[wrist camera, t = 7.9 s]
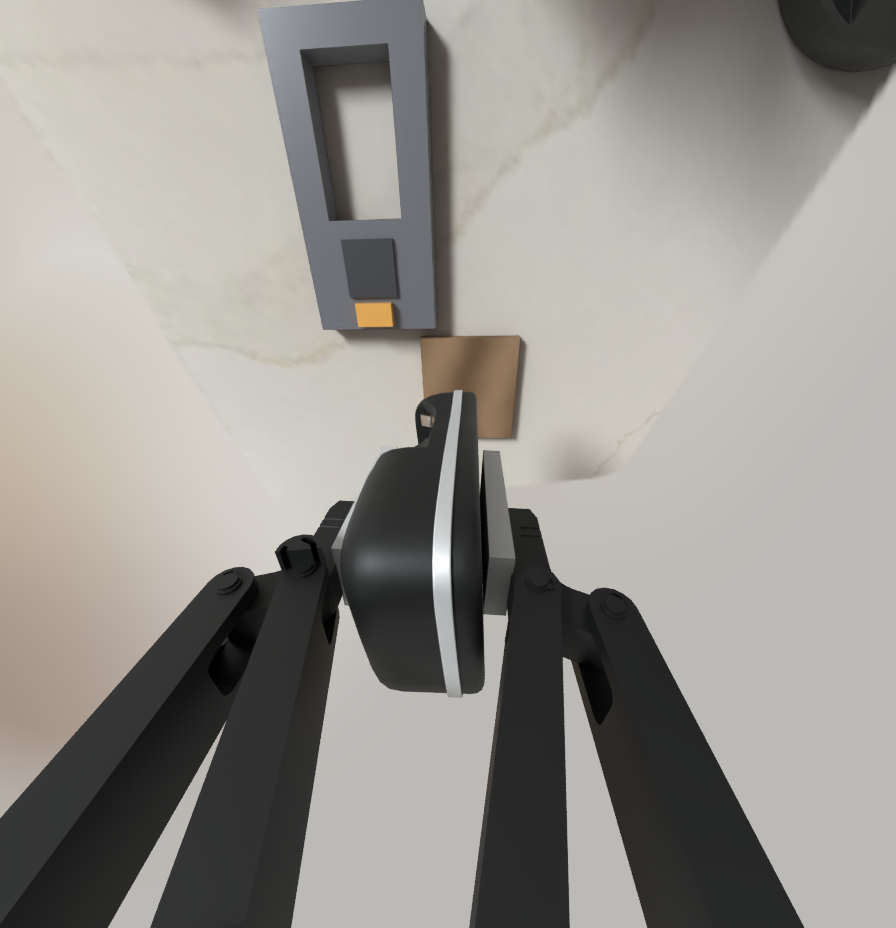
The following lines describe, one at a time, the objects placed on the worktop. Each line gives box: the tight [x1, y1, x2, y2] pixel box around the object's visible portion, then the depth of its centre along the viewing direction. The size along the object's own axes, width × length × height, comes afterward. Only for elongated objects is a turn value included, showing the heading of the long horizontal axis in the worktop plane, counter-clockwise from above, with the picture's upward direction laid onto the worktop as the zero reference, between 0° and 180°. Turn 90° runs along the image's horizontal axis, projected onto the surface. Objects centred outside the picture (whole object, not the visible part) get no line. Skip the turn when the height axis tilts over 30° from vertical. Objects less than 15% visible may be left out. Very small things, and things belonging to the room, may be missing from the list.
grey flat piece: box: [257, 0, 437, 330], centre depth 24 cm, size 10×18×3 cm, turn 1°
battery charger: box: [340, 390, 485, 698], centre depth 13 cm, size 7×4×11 cm, turn 4°
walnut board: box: [420, 336, 520, 438], centre depth 32 cm, size 9×10×1 cm
